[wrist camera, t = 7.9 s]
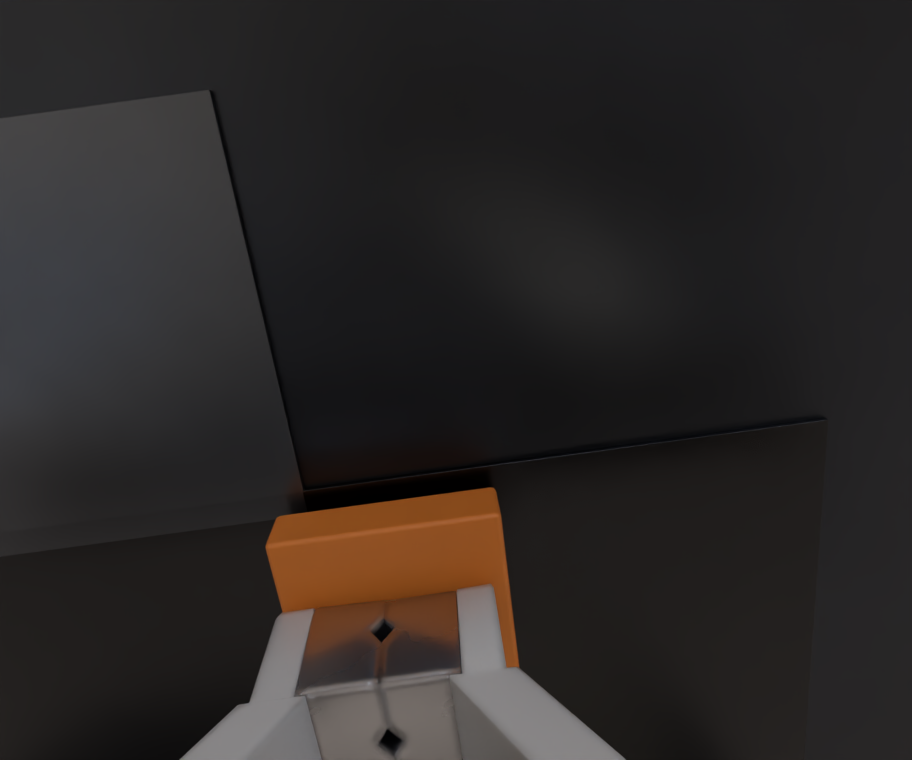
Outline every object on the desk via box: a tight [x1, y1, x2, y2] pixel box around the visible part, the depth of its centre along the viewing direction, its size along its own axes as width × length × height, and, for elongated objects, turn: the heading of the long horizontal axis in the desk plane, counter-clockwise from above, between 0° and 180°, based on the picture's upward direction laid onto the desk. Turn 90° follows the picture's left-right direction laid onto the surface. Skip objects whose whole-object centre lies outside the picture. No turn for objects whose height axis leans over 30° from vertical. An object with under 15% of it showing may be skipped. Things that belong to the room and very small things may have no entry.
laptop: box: [0, 0, 912, 760], centre depth 12 cm, size 21×30×2 cm
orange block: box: [265, 487, 519, 668], centre depth 10 cm, size 3×3×1 cm
